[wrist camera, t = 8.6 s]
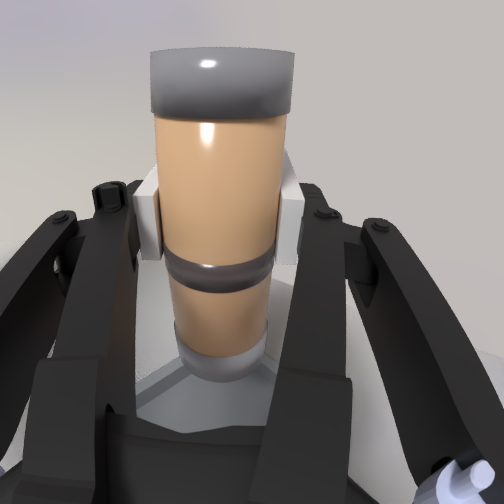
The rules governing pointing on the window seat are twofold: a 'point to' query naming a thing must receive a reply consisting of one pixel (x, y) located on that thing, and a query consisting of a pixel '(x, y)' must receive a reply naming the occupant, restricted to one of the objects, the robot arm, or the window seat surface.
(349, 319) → the window seat surface
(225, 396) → the parts tray
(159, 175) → the fuse
